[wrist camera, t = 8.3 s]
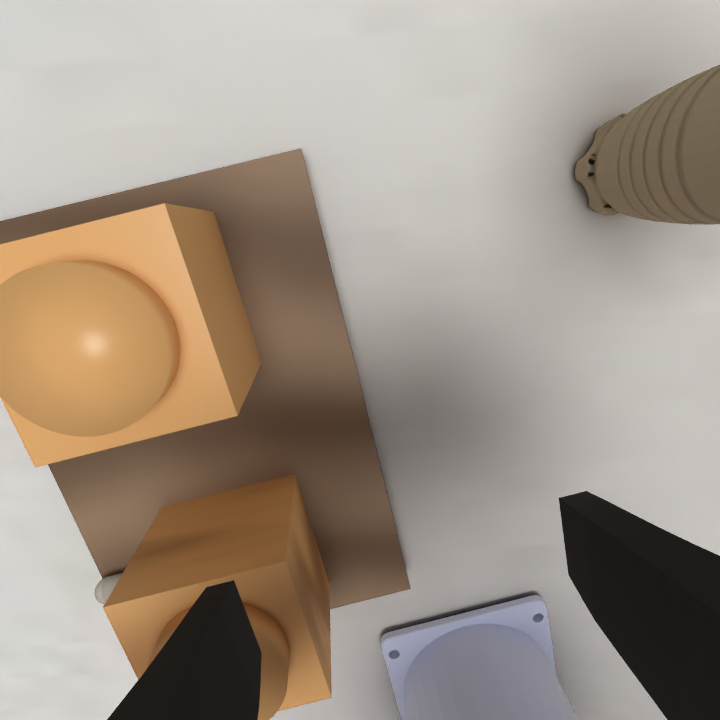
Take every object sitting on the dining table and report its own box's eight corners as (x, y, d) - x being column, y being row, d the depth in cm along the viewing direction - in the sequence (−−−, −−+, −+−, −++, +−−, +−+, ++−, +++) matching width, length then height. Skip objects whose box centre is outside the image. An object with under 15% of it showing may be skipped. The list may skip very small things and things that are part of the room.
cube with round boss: (261, 363, 17) (230, 432, 11) (116, 399, 17) (10, 488, 11) (213, 211, 15) (148, 200, 10) (55, 251, 15) (-107, 264, 10)
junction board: (405, 569, 21) (446, 733, 14) (148, 634, 21) (63, 831, 14) (302, 154, 16) (288, 97, 9) (-37, 236, 16) (-308, 241, 9)
